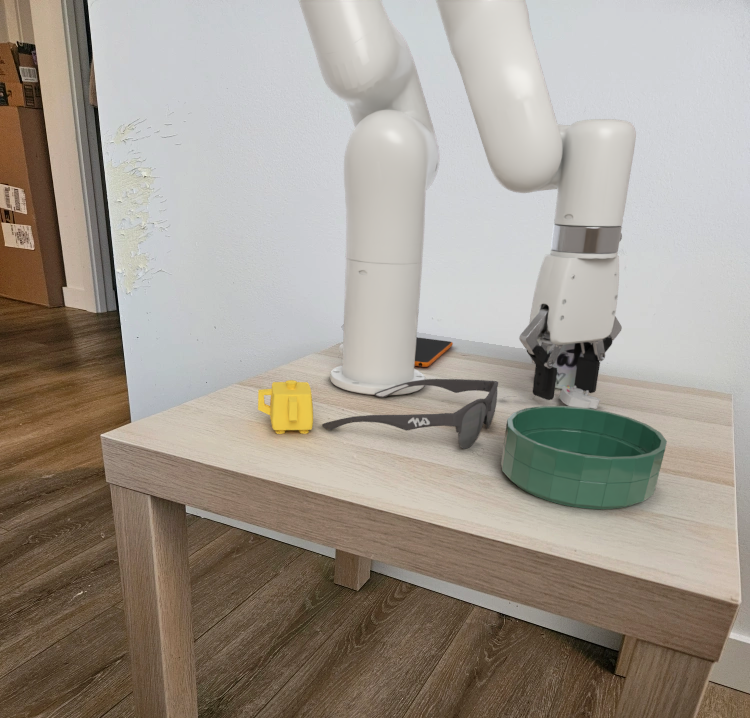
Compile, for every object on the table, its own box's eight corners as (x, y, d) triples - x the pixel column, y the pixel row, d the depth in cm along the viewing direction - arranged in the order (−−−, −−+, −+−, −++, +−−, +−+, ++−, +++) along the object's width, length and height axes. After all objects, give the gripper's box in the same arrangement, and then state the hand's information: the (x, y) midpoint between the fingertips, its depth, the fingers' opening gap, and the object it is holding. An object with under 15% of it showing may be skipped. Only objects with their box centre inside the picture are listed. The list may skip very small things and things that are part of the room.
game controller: (606, 413, 83) (610, 392, 82) (519, 416, 81) (523, 395, 79) (583, 399, 88) (587, 379, 87) (501, 401, 86) (504, 381, 84)
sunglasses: (467, 462, 66) (467, 413, 64) (317, 447, 72) (313, 402, 71) (509, 416, 79) (510, 374, 77) (380, 407, 86) (378, 368, 84)
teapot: (258, 415, 76) (256, 370, 73) (309, 415, 77) (310, 370, 74) (258, 441, 69) (257, 391, 66) (315, 440, 69) (316, 391, 67)
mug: (518, 385, 92) (529, 311, 88) (537, 363, 105) (548, 296, 101) (596, 397, 89) (612, 321, 85) (607, 372, 101) (621, 304, 97)
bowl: (471, 463, 66) (477, 414, 64) (576, 444, 72) (585, 399, 70) (572, 525, 55) (584, 468, 53) (686, 496, 61) (700, 445, 59)
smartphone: (453, 346, 112) (453, 340, 112) (428, 369, 98) (428, 363, 97) (409, 340, 114) (410, 335, 114) (378, 362, 100) (379, 356, 99)
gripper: (613, 238, 85) (591, 378, 92) (505, 241, 77) (491, 394, 84) (663, 243, 79) (635, 392, 86) (550, 247, 71) (531, 411, 79)
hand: (564, 392), depth 85 cm, fingers closed on game controller, 6 cm apart
